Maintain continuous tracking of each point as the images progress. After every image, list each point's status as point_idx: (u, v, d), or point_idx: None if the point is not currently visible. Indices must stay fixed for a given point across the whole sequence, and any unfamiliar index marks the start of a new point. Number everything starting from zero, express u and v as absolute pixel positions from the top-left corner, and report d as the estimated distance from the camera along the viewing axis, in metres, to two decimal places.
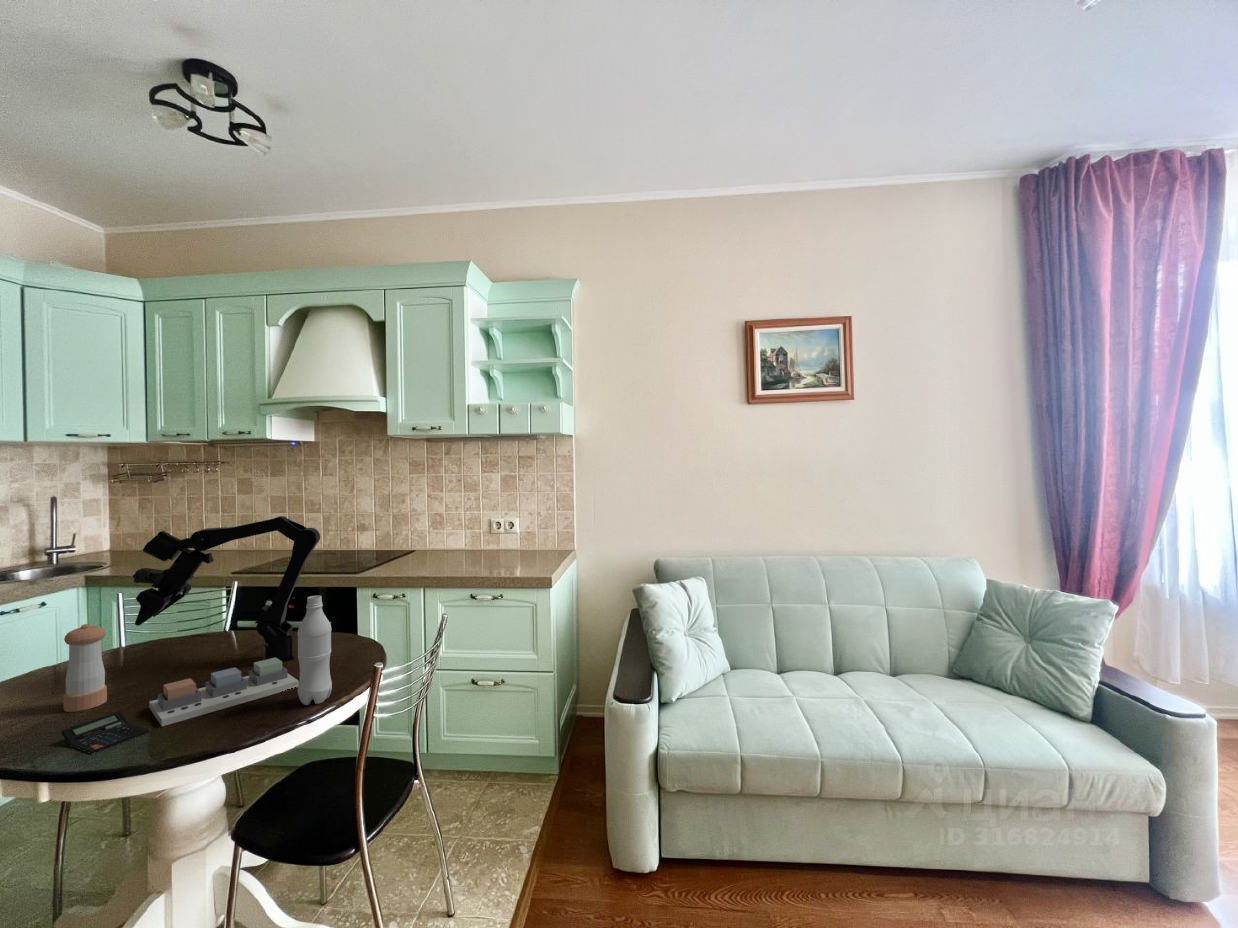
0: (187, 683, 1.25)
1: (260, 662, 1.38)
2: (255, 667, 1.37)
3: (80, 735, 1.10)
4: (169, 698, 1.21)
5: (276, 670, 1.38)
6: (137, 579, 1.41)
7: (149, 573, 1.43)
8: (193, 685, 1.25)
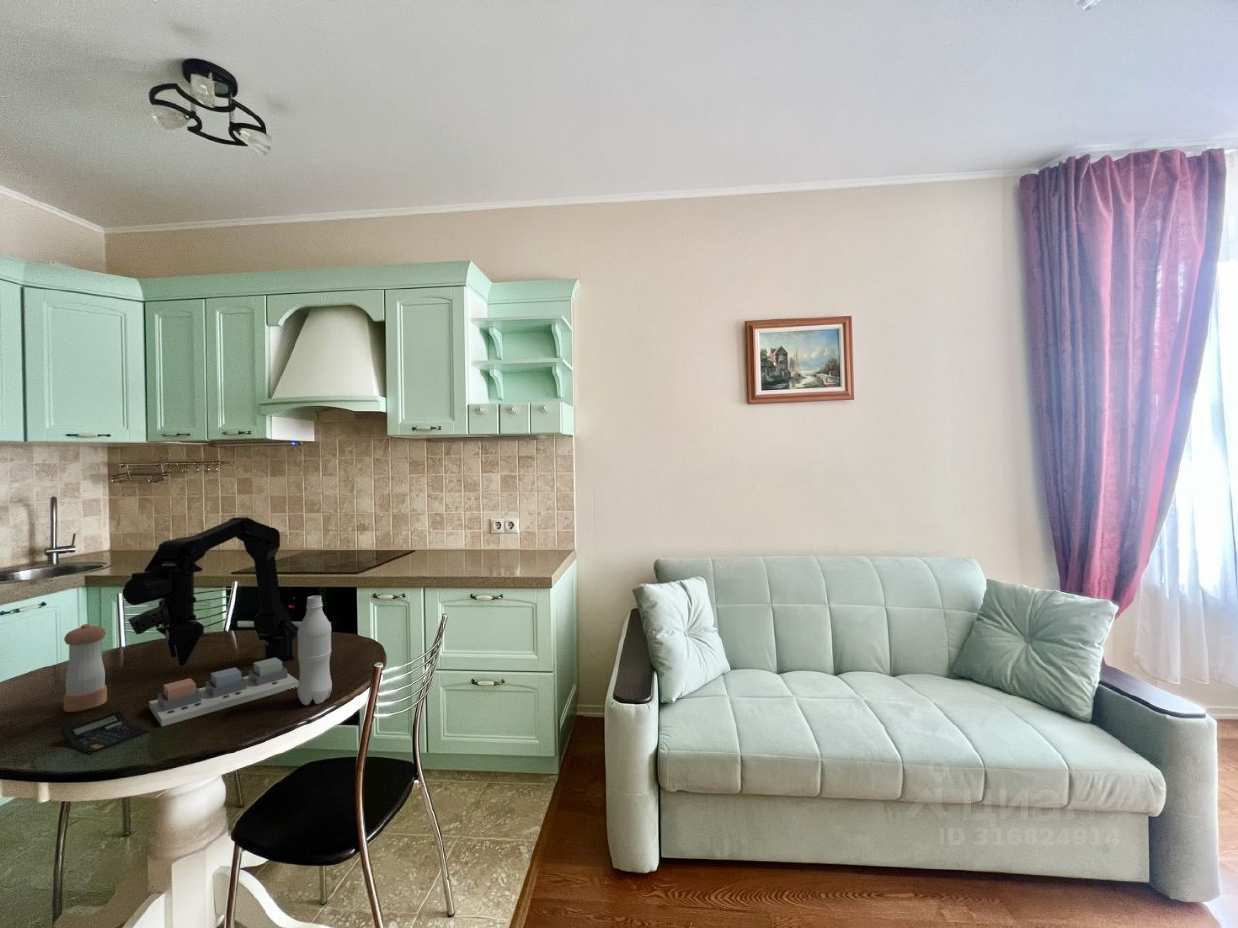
0: (187, 683, 1.25)
1: (260, 662, 1.38)
2: (255, 667, 1.37)
3: (80, 734, 1.10)
4: (169, 698, 1.21)
5: (276, 670, 1.38)
6: (145, 627, 1.17)
7: (152, 615, 1.19)
8: (193, 685, 1.25)
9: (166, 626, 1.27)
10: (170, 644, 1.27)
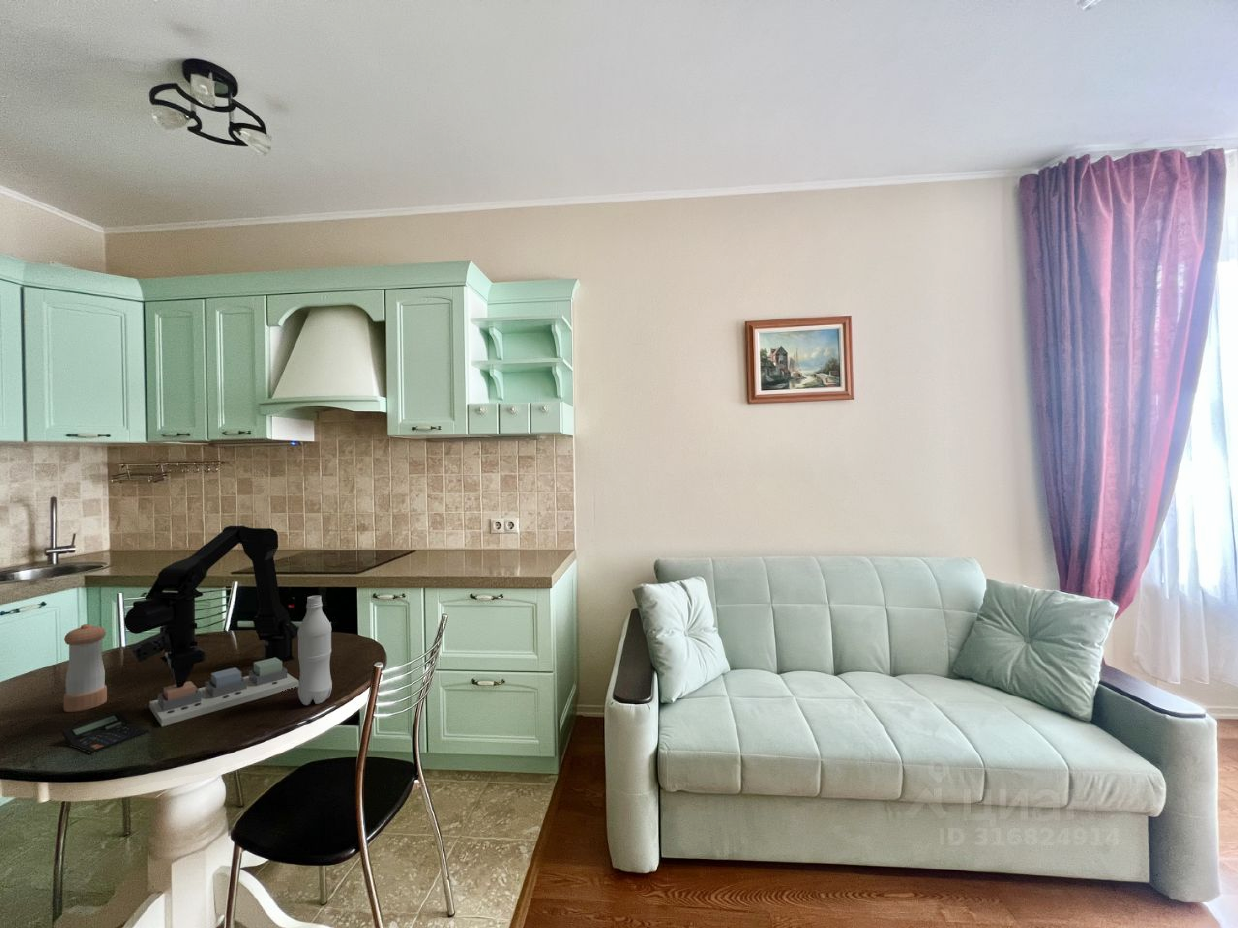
0: (187, 686, 1.25)
1: (260, 662, 1.38)
2: (255, 667, 1.37)
3: (80, 735, 1.10)
4: None
5: (276, 670, 1.38)
6: (146, 655, 1.17)
7: (153, 642, 1.19)
8: (193, 688, 1.25)
9: None
10: None
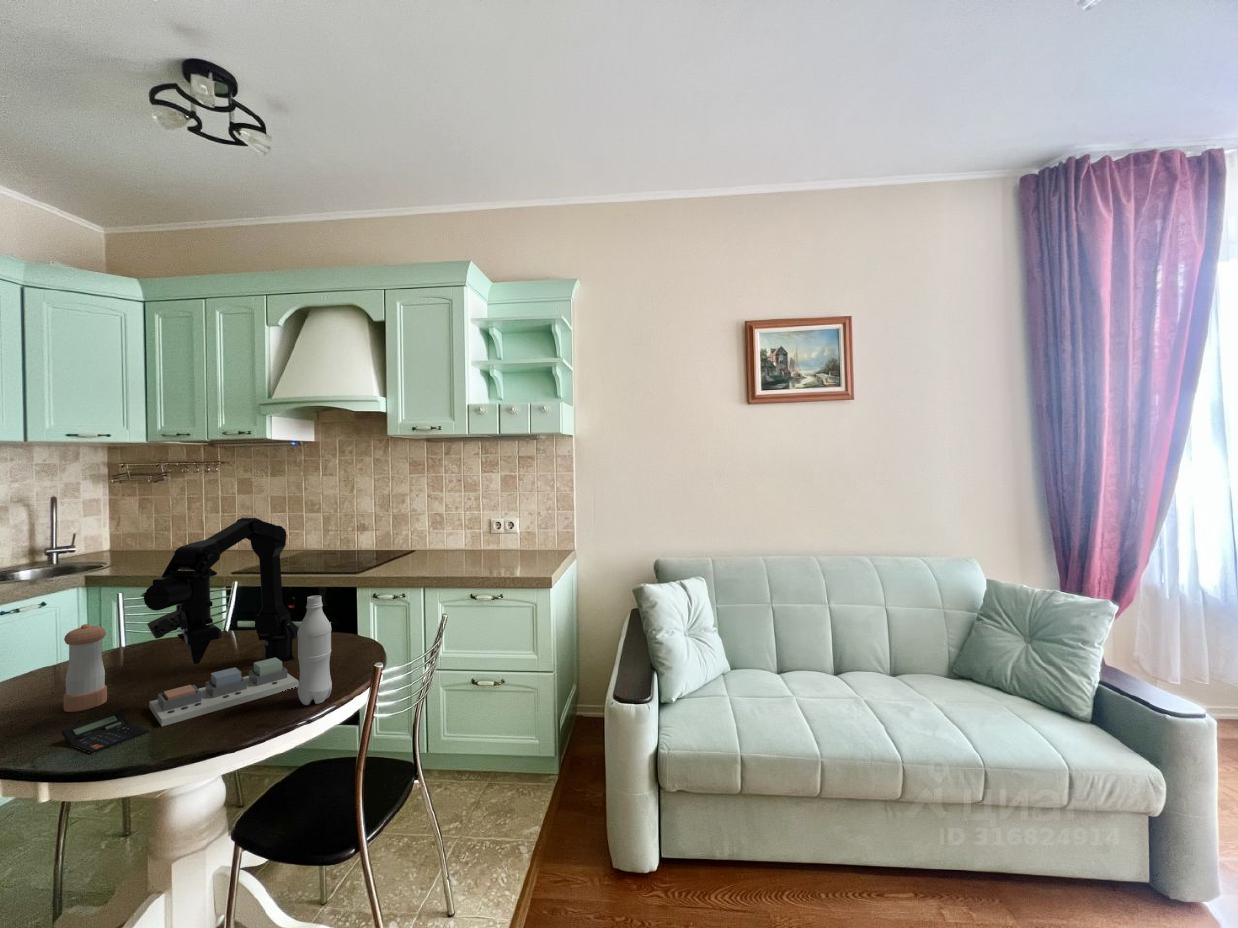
0: (187, 690, 1.25)
1: (260, 662, 1.38)
2: (255, 667, 1.37)
3: (80, 734, 1.10)
4: None
5: (276, 670, 1.38)
6: (164, 631, 1.20)
7: (170, 619, 1.21)
8: (193, 692, 1.25)
9: None
10: None
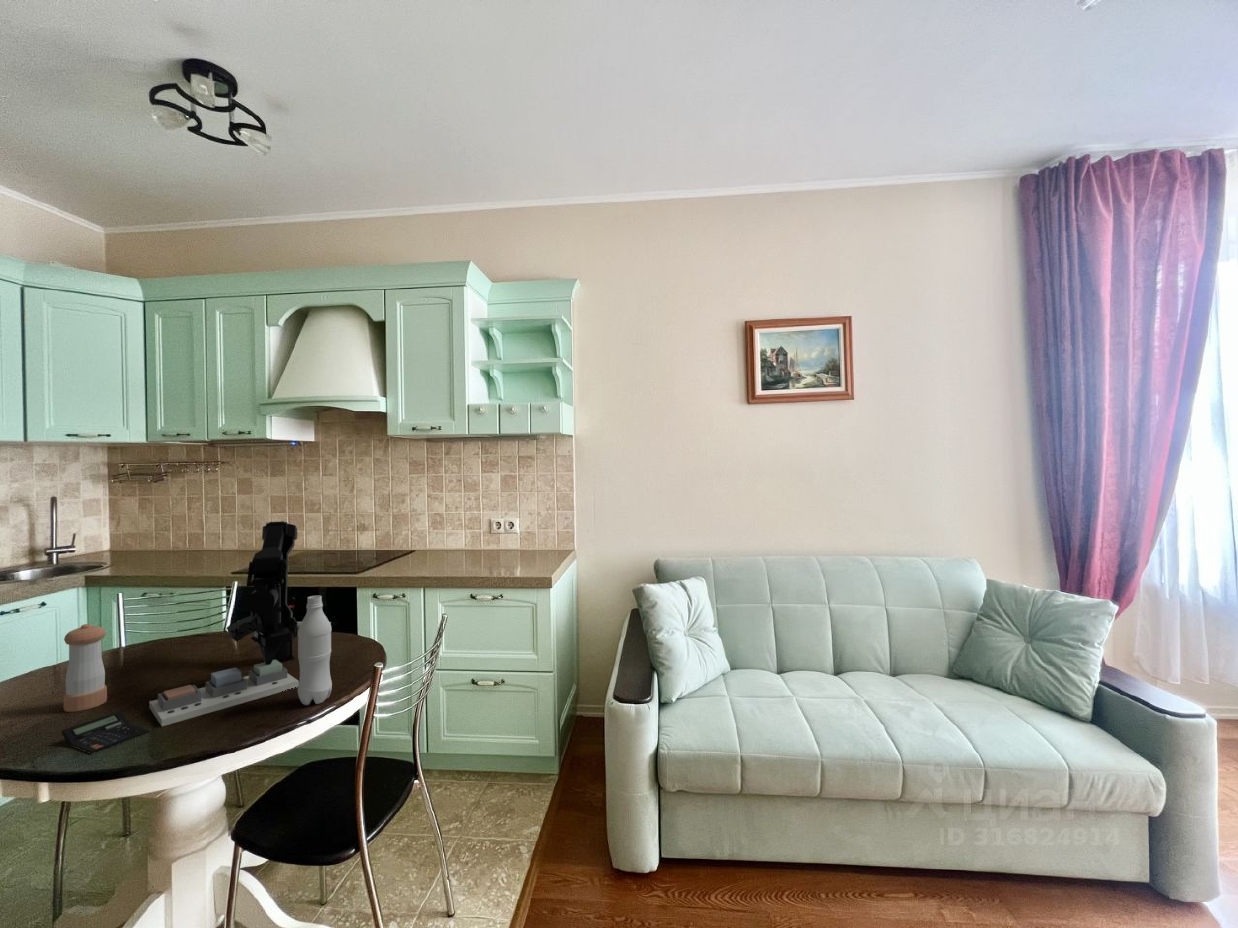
0: (187, 690, 1.25)
1: (260, 664, 1.38)
2: (255, 669, 1.37)
3: (80, 734, 1.10)
4: None
5: None
6: (243, 634, 1.31)
7: (248, 623, 1.32)
8: (193, 692, 1.25)
9: (260, 636, 1.38)
10: None
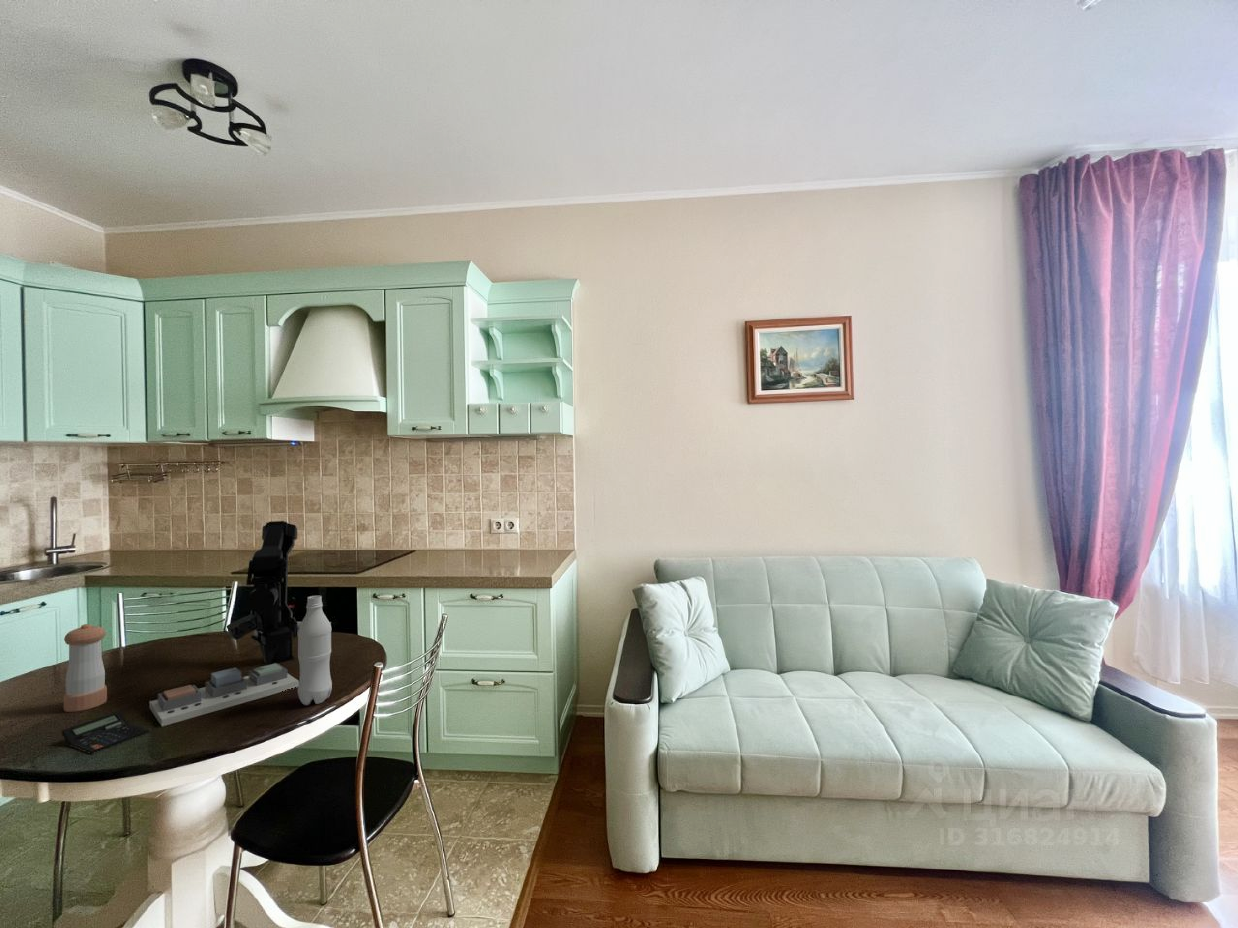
0: (187, 690, 1.25)
1: (260, 668, 1.38)
2: (255, 673, 1.37)
3: (80, 735, 1.10)
4: None
5: None
6: (243, 633, 1.31)
7: (248, 622, 1.32)
8: (193, 692, 1.25)
9: (260, 635, 1.38)
10: None
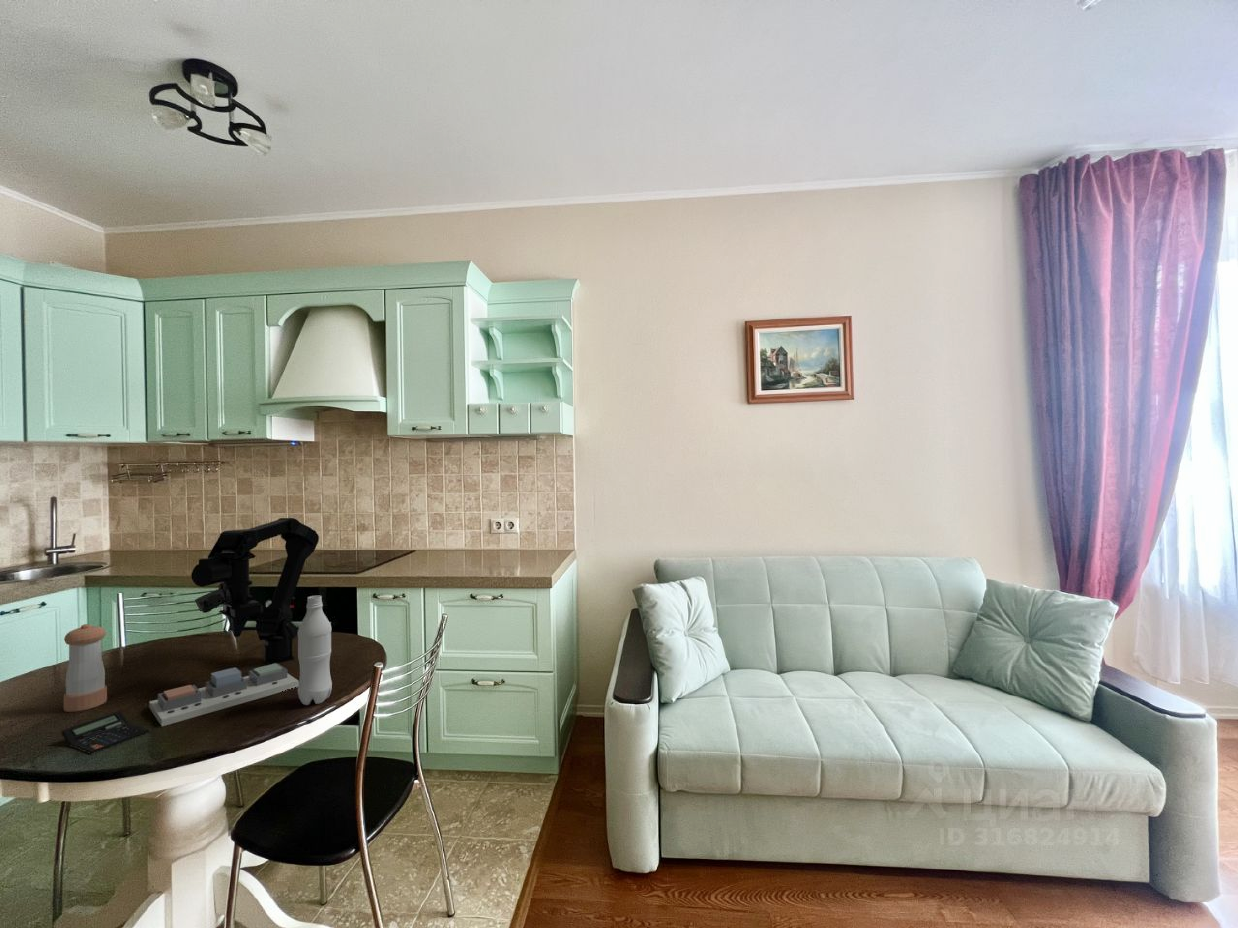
0: (187, 690, 1.25)
1: (260, 668, 1.38)
2: (255, 673, 1.37)
3: (80, 735, 1.10)
4: None
5: None
6: (212, 606, 1.34)
7: (217, 595, 1.35)
8: (193, 692, 1.25)
9: (229, 609, 1.41)
10: None
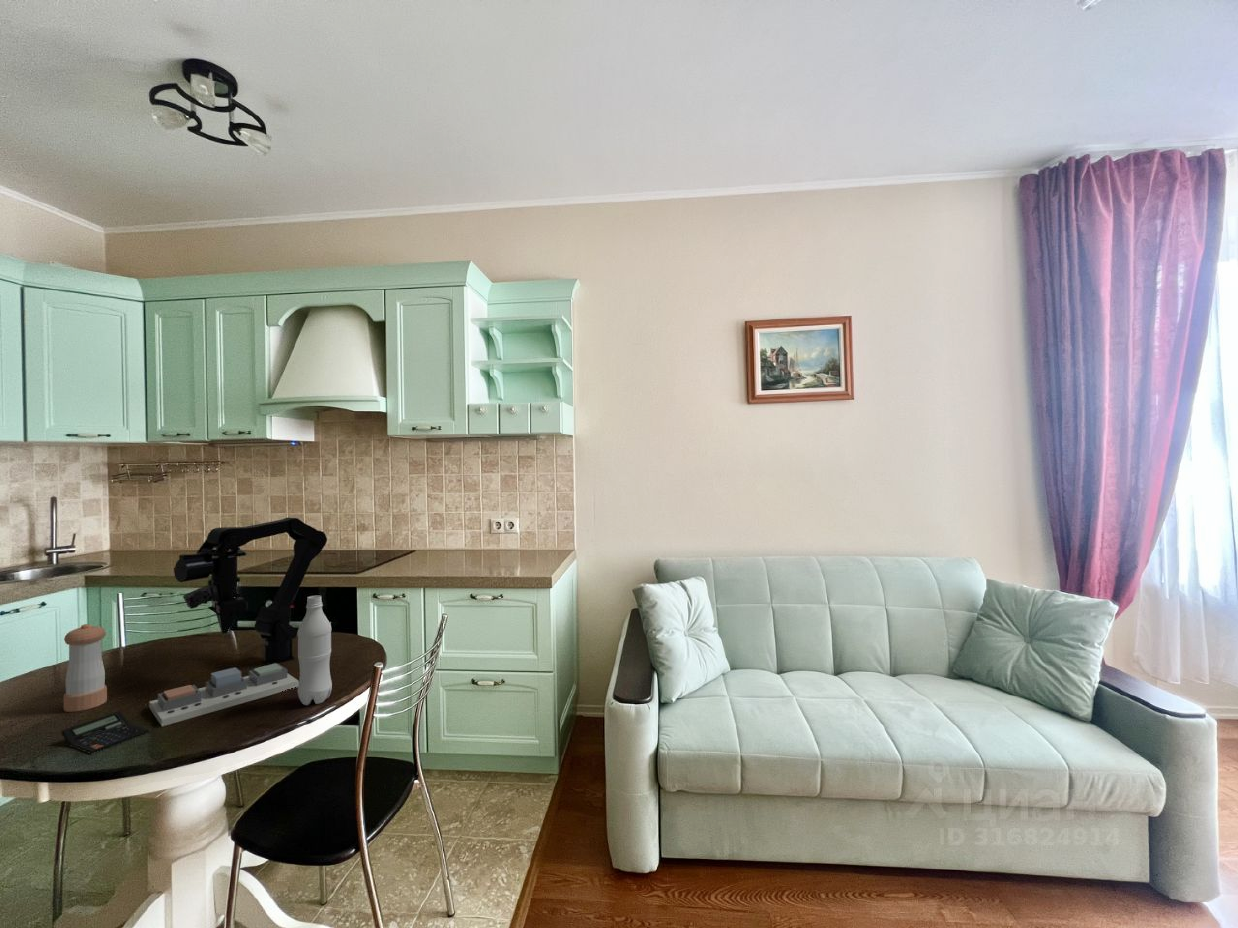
0: (187, 690, 1.25)
1: (260, 668, 1.38)
2: (255, 673, 1.37)
3: (80, 735, 1.10)
4: None
5: None
6: (198, 602, 1.35)
7: (203, 592, 1.37)
8: (193, 692, 1.25)
9: None
10: None
